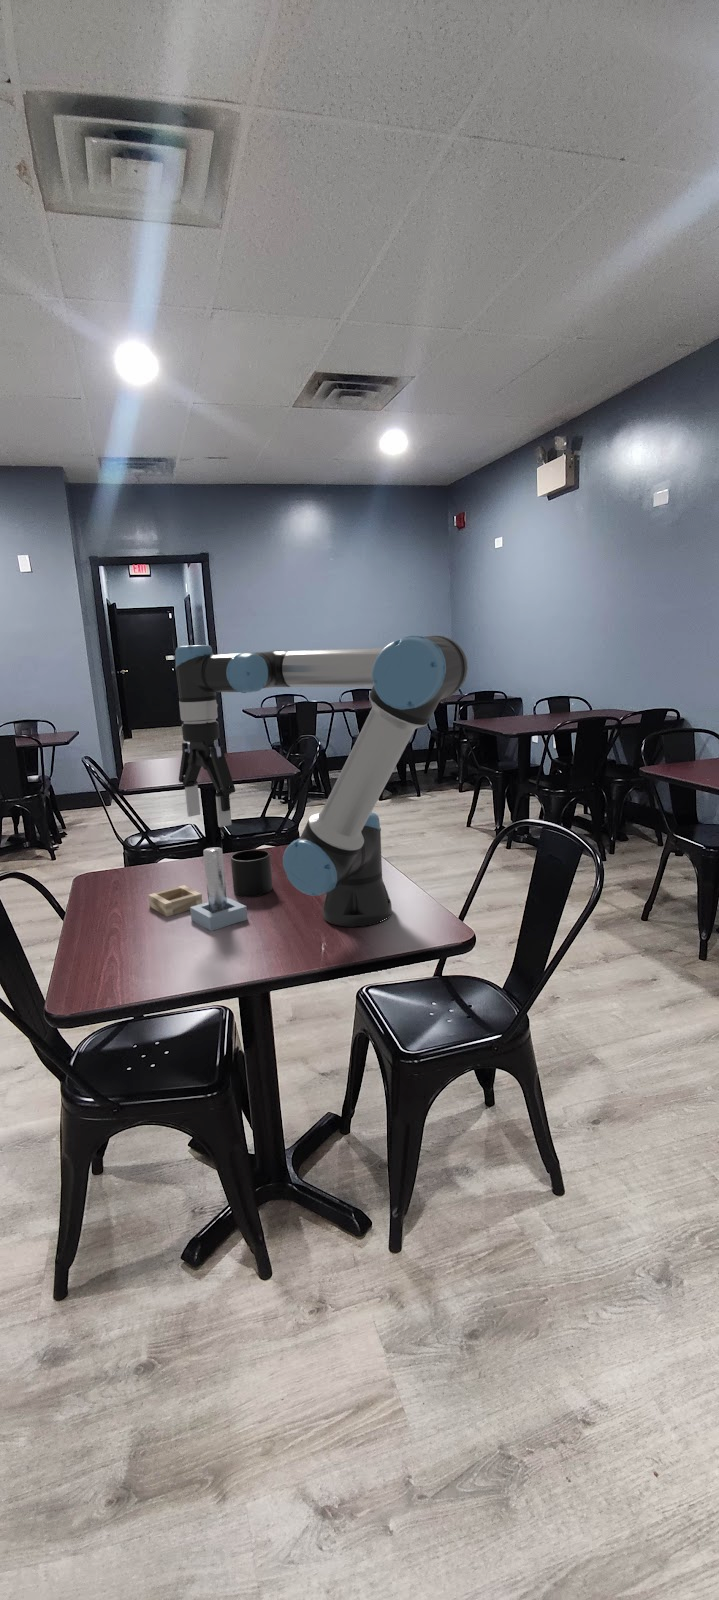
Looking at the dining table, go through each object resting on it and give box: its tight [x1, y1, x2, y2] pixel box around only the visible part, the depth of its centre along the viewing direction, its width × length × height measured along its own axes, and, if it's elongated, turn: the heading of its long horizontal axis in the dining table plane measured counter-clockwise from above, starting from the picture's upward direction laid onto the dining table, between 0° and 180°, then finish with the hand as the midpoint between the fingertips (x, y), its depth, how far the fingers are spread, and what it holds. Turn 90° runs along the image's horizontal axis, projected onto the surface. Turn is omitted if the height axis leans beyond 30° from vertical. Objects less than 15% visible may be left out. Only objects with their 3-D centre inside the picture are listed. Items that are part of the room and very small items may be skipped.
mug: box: [230, 849, 273, 898], centre depth 177 cm, size 9×12×9 cm
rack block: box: [148, 884, 203, 917], centre depth 168 cm, size 9×9×3 cm
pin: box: [203, 847, 228, 913], centre depth 157 cm, size 4×4×16 cm
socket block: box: [189, 897, 249, 932], centre depth 159 cm, size 9×9×3 cm
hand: (209, 820), depth 154 cm, fingers open, 13 cm apart
